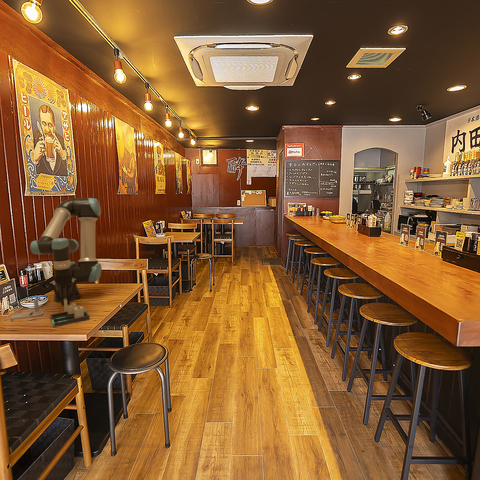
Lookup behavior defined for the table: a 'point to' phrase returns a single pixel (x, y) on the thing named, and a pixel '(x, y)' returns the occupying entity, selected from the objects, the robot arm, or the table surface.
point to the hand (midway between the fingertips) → (66, 310)
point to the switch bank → (66, 318)
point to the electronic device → (29, 315)
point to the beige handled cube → (78, 312)
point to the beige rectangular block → (71, 308)
